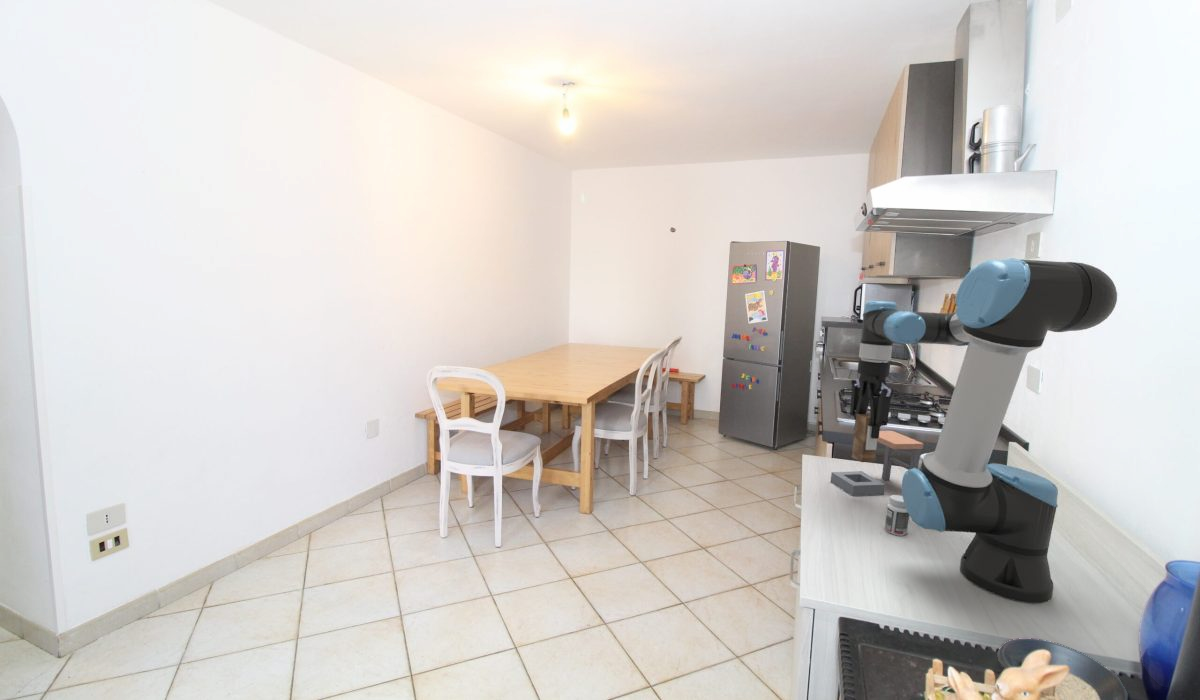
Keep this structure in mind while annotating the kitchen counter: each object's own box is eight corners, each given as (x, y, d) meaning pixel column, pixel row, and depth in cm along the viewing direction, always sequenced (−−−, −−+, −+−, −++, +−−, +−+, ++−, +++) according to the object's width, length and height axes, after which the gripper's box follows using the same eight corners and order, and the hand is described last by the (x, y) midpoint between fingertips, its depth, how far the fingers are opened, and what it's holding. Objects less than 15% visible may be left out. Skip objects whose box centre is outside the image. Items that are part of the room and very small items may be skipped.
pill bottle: (909, 531, 131) (913, 498, 129) (903, 538, 127) (908, 504, 126) (887, 524, 134) (892, 492, 133) (881, 530, 130) (886, 497, 129)
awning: (916, 494, 154) (923, 443, 151) (888, 496, 152) (895, 444, 149) (886, 478, 165) (892, 430, 163) (859, 479, 163) (865, 431, 161)
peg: (874, 461, 145) (879, 417, 143) (861, 462, 144) (866, 417, 142) (864, 456, 149) (869, 413, 147) (851, 457, 148) (856, 413, 146)
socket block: (884, 494, 153) (885, 484, 152) (852, 496, 151) (853, 485, 150) (860, 480, 162) (861, 471, 162) (830, 481, 160) (831, 472, 160)
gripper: (911, 365, 135) (900, 456, 138) (865, 355, 152) (856, 437, 155) (885, 365, 134) (874, 457, 137) (841, 355, 150) (832, 437, 153)
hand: (864, 446), depth 146 cm, fingers closed on peg, 4 cm apart
